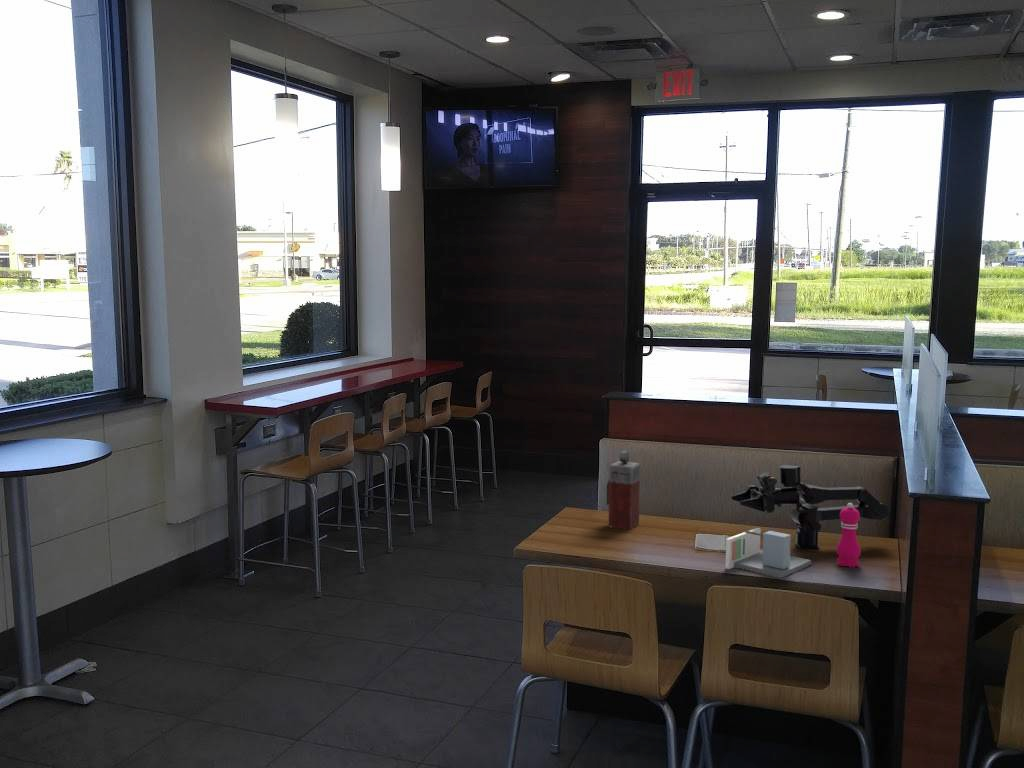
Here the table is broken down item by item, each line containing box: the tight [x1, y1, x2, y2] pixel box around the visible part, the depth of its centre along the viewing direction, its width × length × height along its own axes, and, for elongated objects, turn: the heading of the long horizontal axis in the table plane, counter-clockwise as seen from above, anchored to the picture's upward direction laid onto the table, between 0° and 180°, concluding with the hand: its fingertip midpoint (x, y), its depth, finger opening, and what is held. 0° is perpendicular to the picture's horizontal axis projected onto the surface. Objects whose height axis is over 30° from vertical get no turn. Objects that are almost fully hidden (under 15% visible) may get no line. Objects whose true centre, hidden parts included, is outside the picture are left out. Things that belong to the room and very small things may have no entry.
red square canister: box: [606, 450, 641, 530], centre depth 332 cm, size 9×11×28 cm
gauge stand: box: [725, 527, 812, 579], centre depth 282 cm, size 22×17×10 cm
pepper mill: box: [835, 502, 862, 568], centre depth 284 cm, size 7×7×20 cm
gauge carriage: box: [744, 530, 792, 569], centre depth 280 cm, size 5×14×10 cm, turn 45°
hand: (735, 500), depth 302 cm, fingers open, 9 cm apart
